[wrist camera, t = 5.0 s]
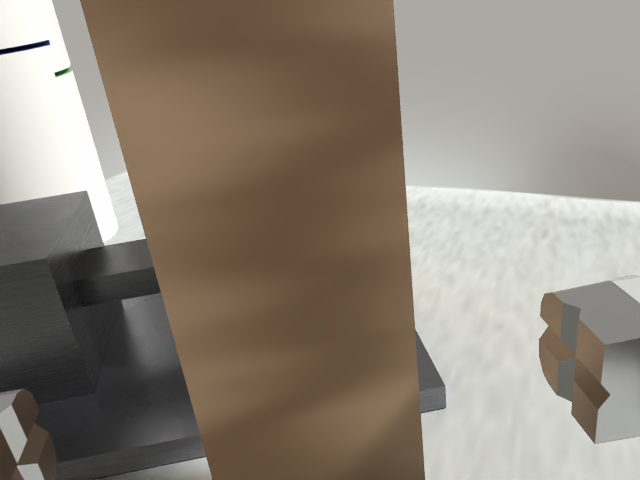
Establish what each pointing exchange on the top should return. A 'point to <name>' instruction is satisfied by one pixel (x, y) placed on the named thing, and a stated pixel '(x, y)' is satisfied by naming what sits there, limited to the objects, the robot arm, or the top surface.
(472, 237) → the top surface
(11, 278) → the cup bracket
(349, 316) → the rail post
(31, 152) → the cylindrical container
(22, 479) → the robot arm
